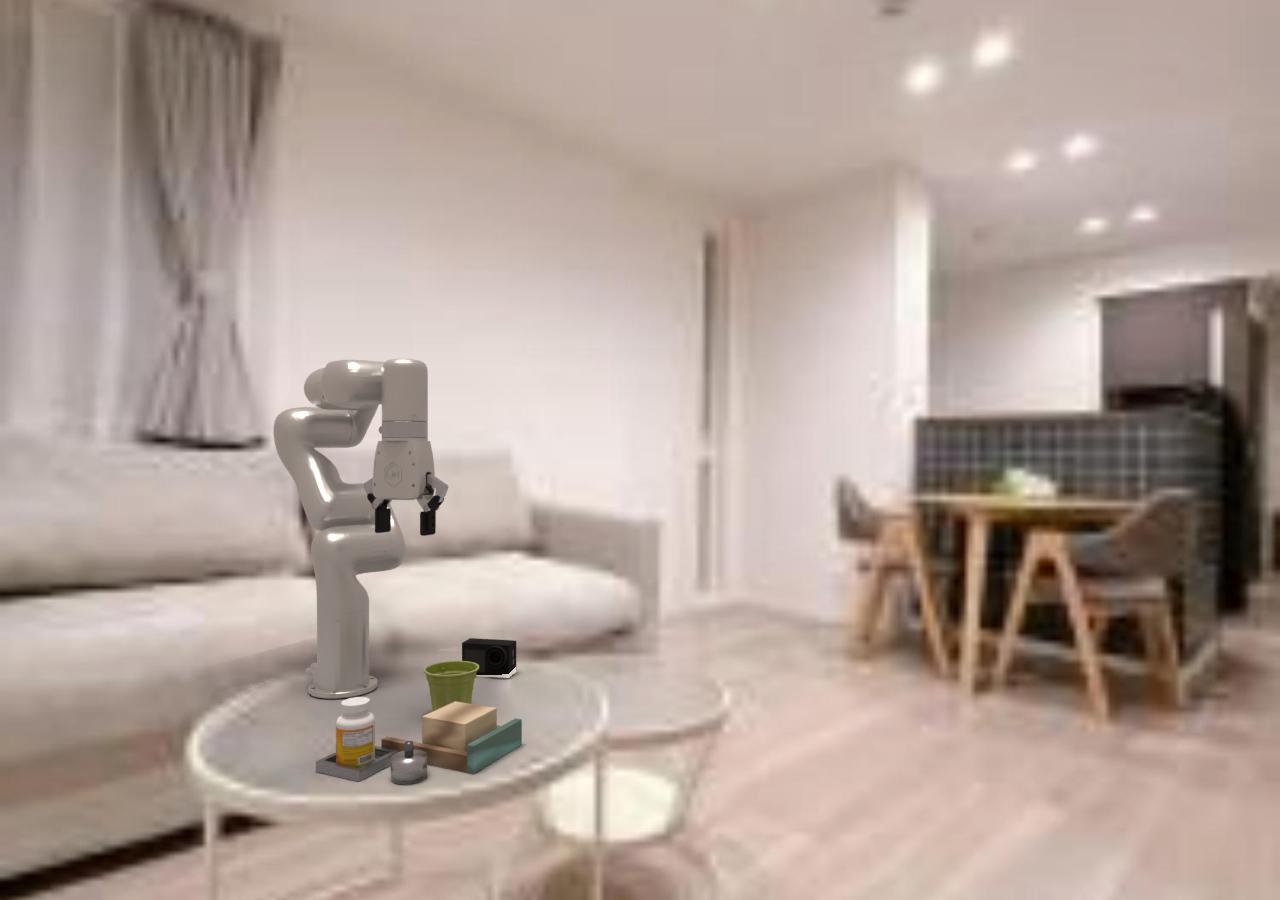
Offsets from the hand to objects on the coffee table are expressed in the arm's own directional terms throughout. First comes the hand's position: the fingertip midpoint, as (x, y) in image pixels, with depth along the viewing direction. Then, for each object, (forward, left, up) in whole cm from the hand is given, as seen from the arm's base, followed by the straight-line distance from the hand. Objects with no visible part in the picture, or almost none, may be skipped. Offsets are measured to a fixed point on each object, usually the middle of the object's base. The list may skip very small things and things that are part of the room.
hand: (405, 533), depth 135 cm
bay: (+14, -6, -32) cm, 36 cm away
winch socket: (+10, -17, -32) cm, 38 cm away
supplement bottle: (+6, -17, -32) cm, 37 cm away
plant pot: (+5, +6, -32) cm, 33 cm away
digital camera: (-4, +30, -33) cm, 44 cm away
